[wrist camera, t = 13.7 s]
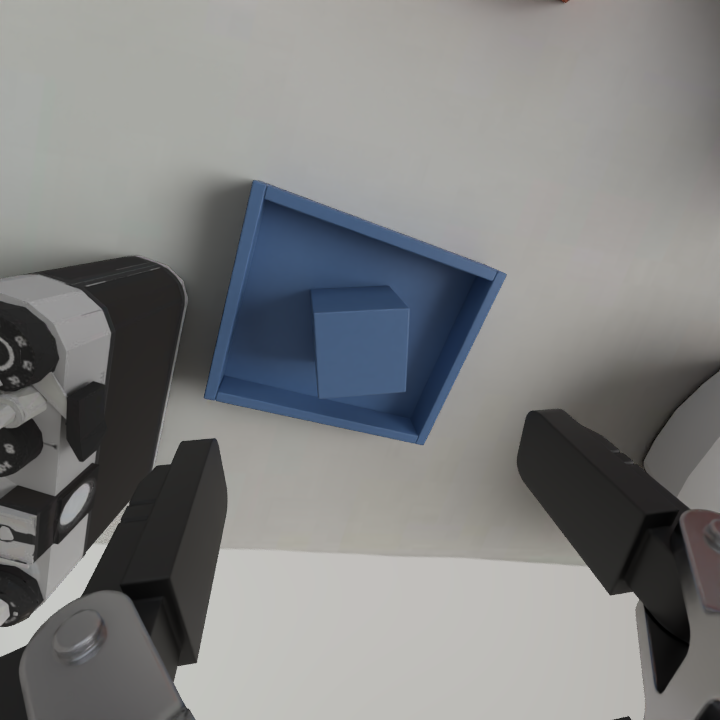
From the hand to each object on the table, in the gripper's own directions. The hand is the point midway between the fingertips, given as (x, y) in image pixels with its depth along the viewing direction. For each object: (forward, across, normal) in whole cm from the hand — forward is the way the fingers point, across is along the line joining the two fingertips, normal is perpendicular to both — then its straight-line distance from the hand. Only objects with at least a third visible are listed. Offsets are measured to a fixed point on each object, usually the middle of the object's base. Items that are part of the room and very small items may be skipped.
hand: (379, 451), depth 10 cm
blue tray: (+13, -1, +1) cm, 13 cm away
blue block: (+13, -1, +1) cm, 13 cm away
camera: (+14, +15, +3) cm, 20 cm away
